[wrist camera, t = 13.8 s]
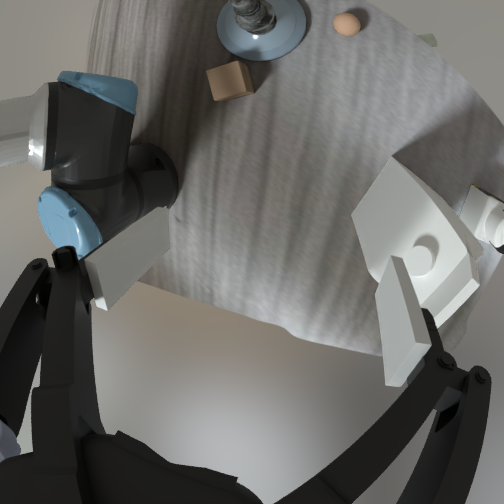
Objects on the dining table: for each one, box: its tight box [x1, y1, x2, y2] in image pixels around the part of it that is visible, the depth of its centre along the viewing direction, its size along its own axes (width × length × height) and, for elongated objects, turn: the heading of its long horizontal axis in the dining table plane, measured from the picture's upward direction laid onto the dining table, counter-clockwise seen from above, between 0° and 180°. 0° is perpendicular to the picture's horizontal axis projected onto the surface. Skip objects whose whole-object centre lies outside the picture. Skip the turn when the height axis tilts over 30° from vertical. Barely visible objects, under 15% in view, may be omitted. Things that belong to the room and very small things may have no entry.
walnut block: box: [206, 61, 255, 101], centre depth 36 cm, size 5×5×5 cm
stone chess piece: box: [229, 0, 277, 35], centre depth 26 cm, size 6×6×12 cm
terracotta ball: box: [333, 13, 360, 36], centre depth 28 cm, size 4×4×4 cm
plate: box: [217, 0, 307, 61], centre depth 32 cm, size 14×14×1 cm
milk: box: [351, 156, 485, 328], centre depth 30 cm, size 12×12×26 cm
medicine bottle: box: [459, 184, 504, 254], centre depth 31 cm, size 7×7×12 cm
